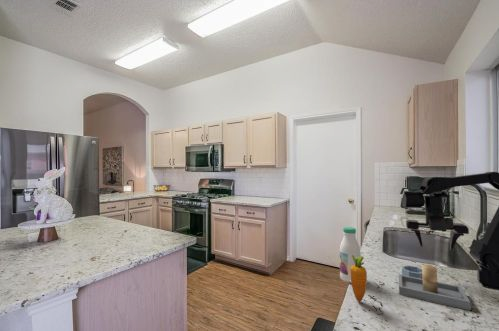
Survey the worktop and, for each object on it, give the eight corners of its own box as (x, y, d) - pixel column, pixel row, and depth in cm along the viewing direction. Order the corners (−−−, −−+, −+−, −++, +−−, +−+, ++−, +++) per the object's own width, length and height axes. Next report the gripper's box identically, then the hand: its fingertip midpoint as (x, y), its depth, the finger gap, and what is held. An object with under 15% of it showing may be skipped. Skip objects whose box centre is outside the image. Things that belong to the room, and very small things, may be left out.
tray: (461, 293, 78) (461, 286, 78) (470, 310, 69) (470, 302, 69) (398, 280, 88) (398, 274, 88) (399, 294, 78) (399, 286, 78)
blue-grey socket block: (424, 275, 93) (424, 268, 93) (426, 283, 86) (426, 274, 86) (401, 271, 97) (401, 264, 97) (402, 278, 90) (402, 270, 90)
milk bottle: (360, 276, 92) (358, 226, 93) (362, 285, 85) (361, 230, 86) (339, 273, 95) (338, 225, 95) (340, 282, 87) (339, 229, 88)
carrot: (347, 298, 76) (346, 252, 76) (361, 297, 76) (360, 252, 77) (355, 306, 71) (354, 258, 72) (371, 306, 71) (369, 257, 72)
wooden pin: (436, 289, 79) (435, 266, 79) (438, 295, 76) (437, 270, 76) (422, 287, 81) (421, 264, 82) (423, 291, 78) (422, 268, 78)
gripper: (407, 209, 89) (409, 250, 88) (472, 213, 79) (475, 259, 78) (405, 206, 98) (406, 243, 98) (463, 209, 89) (465, 249, 88)
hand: (436, 248), depth 90 cm, fingers open, 9 cm apart
